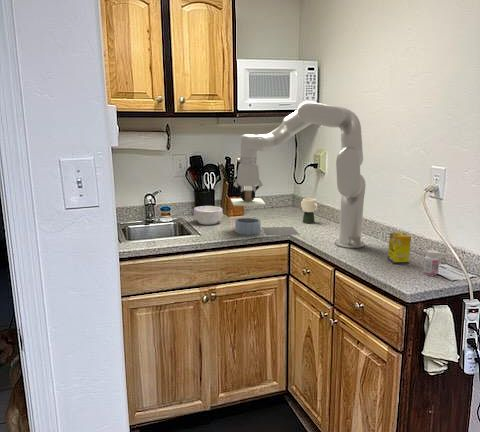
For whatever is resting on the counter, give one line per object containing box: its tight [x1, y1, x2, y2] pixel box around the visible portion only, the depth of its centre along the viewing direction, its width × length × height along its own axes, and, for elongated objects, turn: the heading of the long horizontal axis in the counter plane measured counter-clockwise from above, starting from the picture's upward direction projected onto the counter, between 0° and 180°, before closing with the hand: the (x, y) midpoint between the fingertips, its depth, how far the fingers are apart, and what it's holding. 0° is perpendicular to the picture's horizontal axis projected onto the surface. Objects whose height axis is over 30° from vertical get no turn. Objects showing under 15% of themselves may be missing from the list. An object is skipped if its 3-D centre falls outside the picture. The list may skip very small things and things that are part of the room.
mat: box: [260, 226, 301, 236], centre depth 219 cm, size 16×16×1 cm
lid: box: [230, 189, 267, 207], centre depth 214 cm, size 15×15×6 cm
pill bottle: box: [423, 249, 440, 276], centre depth 159 cm, size 5×5×8 cm
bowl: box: [234, 217, 262, 236], centre depth 217 cm, size 12×12×6 cm
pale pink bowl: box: [193, 205, 224, 226], centre depth 237 cm, size 15×15×8 cm
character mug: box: [300, 197, 319, 224], centre depth 238 cm, size 11×7×13 cm, turn 43°
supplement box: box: [387, 232, 412, 265], centre depth 173 cm, size 6×6×11 cm
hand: (247, 199), depth 214 cm, fingers closed on lid, 4 cm apart
